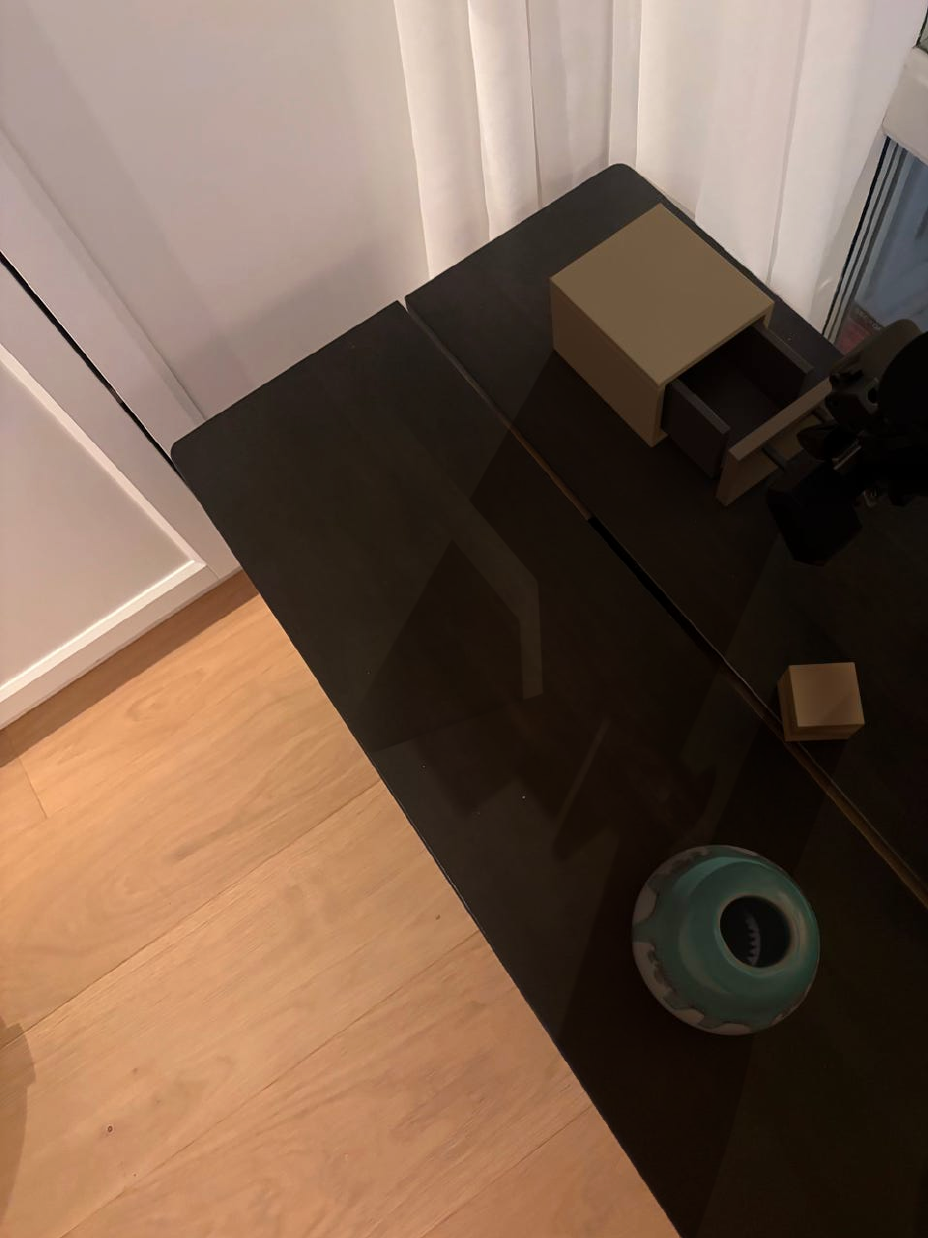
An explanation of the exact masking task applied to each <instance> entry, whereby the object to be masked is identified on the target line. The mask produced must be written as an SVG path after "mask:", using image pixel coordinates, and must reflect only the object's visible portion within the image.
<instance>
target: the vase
mask: <svg viewBox="0 0 928 1238" xmlns="http://www.w3.org/2000/svg"><path fill="white" fill-rule="evenodd" d="M631 919H632V920H631V929H630V938H631V947H632V949H631V951H632V955H633V959H634V962H635V965H636V968H637V970H638V972H639V974H640V976H641V979H642V980H643V982H644V984H645V986H646V987H647V989H648V990H649V992H650V993H651V994H652V995H653V997H654V998H655V999H656V1001H658V1003H659V1004H660V1005H661V1006H663V1008H664V1009H666V1010H667V1011H668V1012H669V1013H670V1014H672V1016H674V1017H676V1018H677V1019H678V1020H679V1021H682V1022H683V1023H684V1024H687V1025H688V1026H690V1027H693V1028H695V1029H698V1030H700V1031H704V1032H707V1033H710V1034H716V1035H719V1036H720V1035H721V1036H745V1035H749V1034H754V1033H758V1032H761V1031H764V1030H767V1029H769V1028H771V1027H773V1026H776V1025H777V1024H779V1023H781V1022H782V1021H784V1020H785V1019H786V1018H787V1017H789V1016H790V1015H791V1014H792V1013H794V1011H795V1010H797V1008H798V1007H799V1006H800V1005H802V1002H803V1001H804V1000H805V998H806V997H807V996H808V994H809V992H810V990H811V988H812V986H813V983H814V981H815V979H816V976H817V971H818V968H819V962H820V950H821V944H820V943H821V942H820V931H819V930H820V929H819V926H818V921H817V918H816V916H815V913H814V910H813V908H812V905H811V903H810V901H809V899H808V897H807V896H806V894H805V893H804V891H803V889H802V888H801V887H800V886H799V884H798V883H797V882H796V881H795V879H793V878H792V877H791V876H790V874H789V873H788V872H787V871H785V870H784V869H783V868H782V867H780V866H779V865H778V864H776V863H775V862H773V861H772V860H770V859H768V858H766V857H765V856H763V855H761V854H759V853H757V852H755V851H751V850H750V849H746V848H742V847H739V846H732V845H726V844H725V845H724V844H708V845H701V846H695V847H693V848H689V849H686V850H683V851H681V852H679V853H677V854H675V855H673V856H671V857H669V858H668V859H666V860H665V861H664V862H662V863H661V864H660V865H659V866H657V867H656V869H655V870H653V872H652V873H651V874H650V876H648V878H647V879H646V881H645V882H644V884H643V885H642V888H641V889H640V891H639V893H638V895H637V897H636V900H635V903H634V908H633V913H632V918H631Z"/></svg>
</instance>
